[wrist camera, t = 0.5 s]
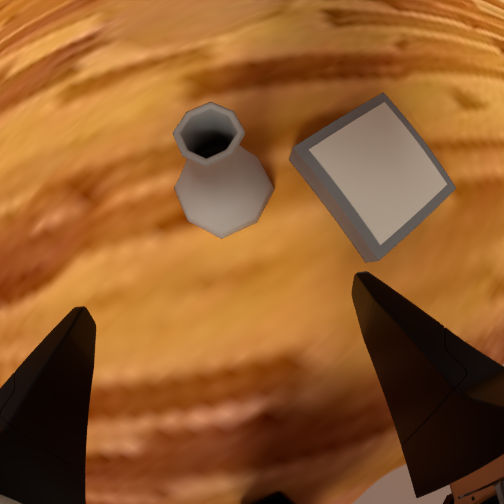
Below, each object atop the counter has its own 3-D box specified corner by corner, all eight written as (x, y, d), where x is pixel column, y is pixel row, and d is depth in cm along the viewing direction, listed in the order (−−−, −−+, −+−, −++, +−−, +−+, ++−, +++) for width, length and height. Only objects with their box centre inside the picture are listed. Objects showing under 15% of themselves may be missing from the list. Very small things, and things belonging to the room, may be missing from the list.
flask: (226, 129, 24) (216, 51, 14) (290, 191, 23) (319, 135, 13) (159, 189, 23) (107, 137, 13) (221, 256, 23) (201, 242, 13)
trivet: (440, 194, 24) (457, 187, 21) (365, 262, 23) (379, 260, 20) (373, 106, 24) (384, 91, 21) (288, 159, 23) (293, 146, 21)
